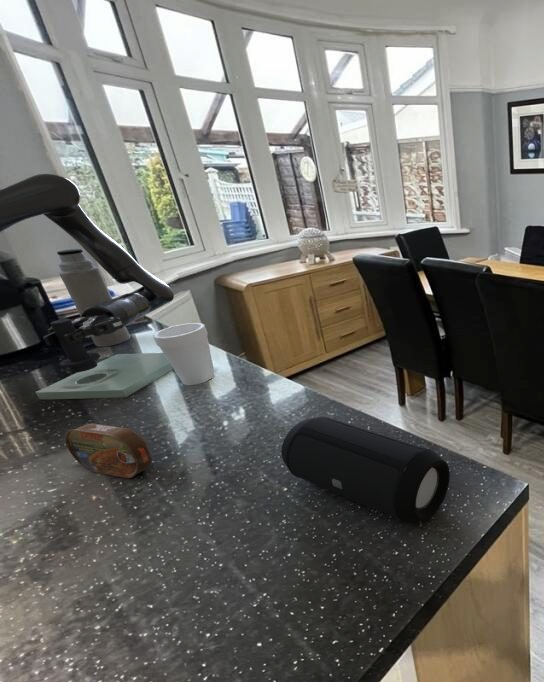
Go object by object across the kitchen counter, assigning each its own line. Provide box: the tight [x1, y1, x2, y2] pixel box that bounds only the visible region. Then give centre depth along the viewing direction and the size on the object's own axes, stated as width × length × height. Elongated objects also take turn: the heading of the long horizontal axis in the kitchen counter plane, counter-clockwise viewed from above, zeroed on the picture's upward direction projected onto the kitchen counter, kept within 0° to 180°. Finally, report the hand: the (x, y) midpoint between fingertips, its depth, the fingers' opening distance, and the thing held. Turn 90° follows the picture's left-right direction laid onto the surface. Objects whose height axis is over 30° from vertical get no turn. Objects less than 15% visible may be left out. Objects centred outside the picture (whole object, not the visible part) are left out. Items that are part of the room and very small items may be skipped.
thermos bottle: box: [56, 248, 131, 348], centre depth 115 cm, size 8×8×28 cm
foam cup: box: [152, 322, 215, 386], centre depth 94 cm, size 10×9×13 cm
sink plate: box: [35, 352, 174, 401], centre depth 98 cm, size 20×20×2 cm
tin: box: [65, 422, 153, 479], centre depth 65 cm, size 15×3×8 cm, turn 76°
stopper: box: [49, 318, 101, 374], centre depth 90 cm, size 7×7×12 cm
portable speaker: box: [280, 416, 451, 523], centre depth 59 cm, size 26×10×10 cm, turn 65°
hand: (57, 340), depth 87 cm, fingers closed on stopper, 3 cm apart
